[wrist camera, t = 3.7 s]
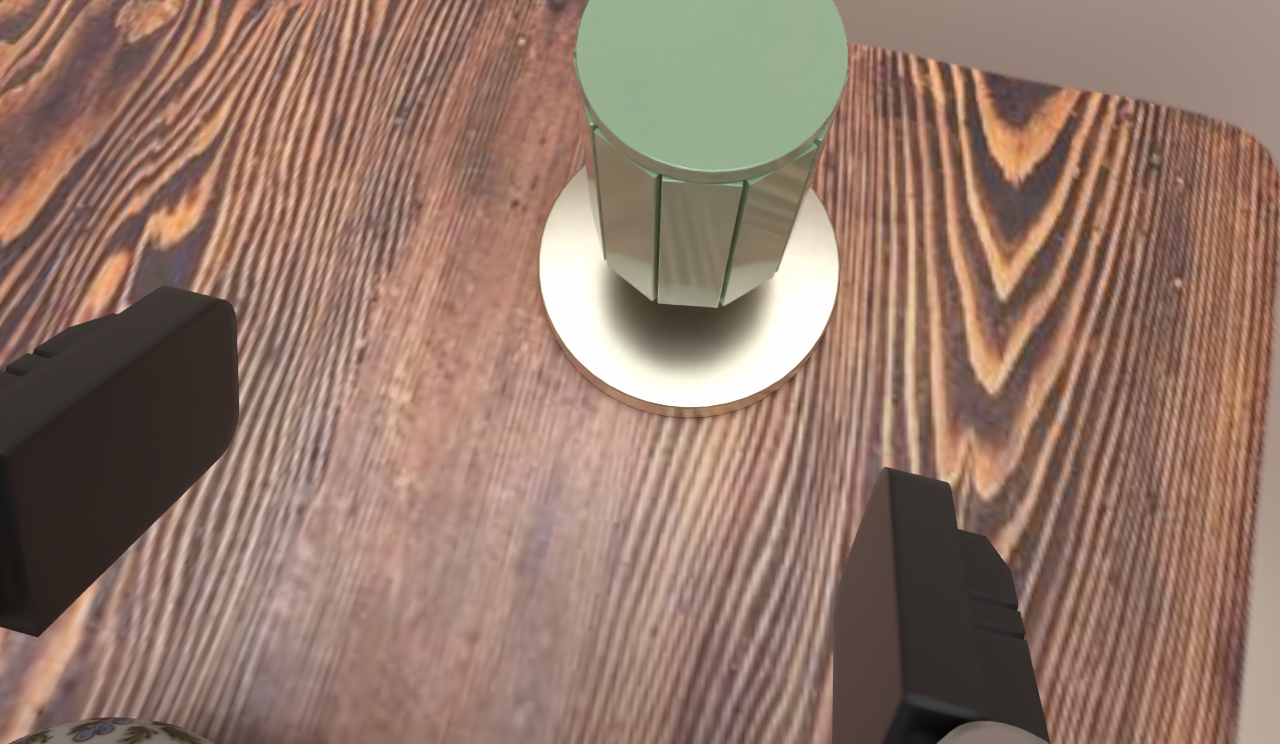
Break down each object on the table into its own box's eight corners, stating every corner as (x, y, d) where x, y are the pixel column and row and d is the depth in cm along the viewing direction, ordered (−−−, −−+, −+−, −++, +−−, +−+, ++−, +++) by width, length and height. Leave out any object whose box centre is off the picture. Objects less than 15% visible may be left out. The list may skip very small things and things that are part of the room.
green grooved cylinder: (762, 102, 33) (803, -94, 24) (818, 284, 31) (885, 143, 22) (574, 143, 32) (548, -41, 24) (620, 329, 31) (610, 204, 22)
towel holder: (788, 118, 39) (863, -163, 25) (870, 379, 36) (1003, 218, 23) (515, 178, 38) (443, -78, 25) (576, 449, 35) (533, 325, 22)
